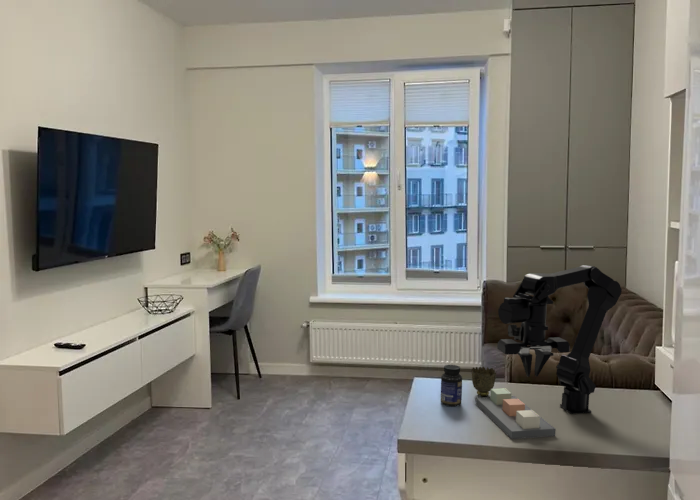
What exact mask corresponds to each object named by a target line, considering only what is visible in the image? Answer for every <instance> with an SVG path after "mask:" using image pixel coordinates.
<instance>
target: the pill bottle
mask: <svg viewBox="0 0 700 500" xmlns="http://www.w3.org/2000/svg"><path fill="white" fill-rule="evenodd" d="M443 371H444V373H442V375H441V378H440V403H441V405H443V406H446V407H451V408H452V407H454V408H455V407H459V406H461V405H462V400H463V399H462V394H463V375H461V374H460V373H461V367H460V366H459V365H456V364H445V365H444V366H443Z"/></svg>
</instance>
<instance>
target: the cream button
mask: <svg viewBox="0 0 700 500" xmlns="http://www.w3.org/2000/svg"><path fill="white" fill-rule="evenodd" d="M536 413H537V412H536V411H534V410H533V409H532V410H523V411H516V423H517V424H518V425H519V426H520V427H521V428H522V429H532V428H539V427H540V417H541V416H540V415H539V414H538V413H537V414H536Z"/></svg>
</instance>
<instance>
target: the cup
mask: <svg viewBox="0 0 700 500" xmlns="http://www.w3.org/2000/svg"><path fill="white" fill-rule="evenodd" d="M470 371H471V379H472V380H471V381H472V386H473V388H474V389H475V391H476V395H477V396H479V397H481V398H484V397H489V395H490V392H491V389H494V387H495V382H496V376H497V371H496V370H495V368H493V367H491V368H489V366H487V368H485V366H479V367H478V366H476V367H474V366H473V367H472V368H471V369H470Z"/></svg>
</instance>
